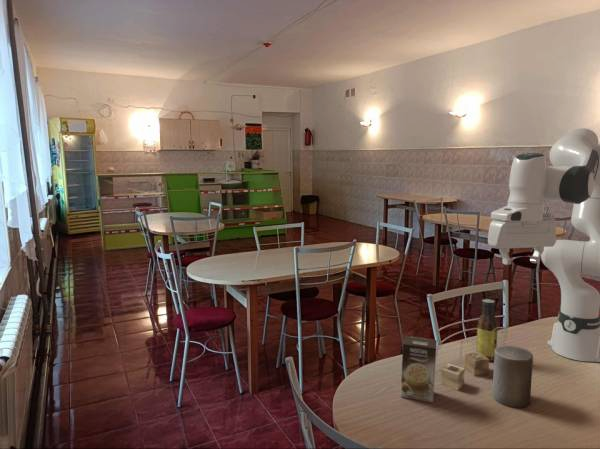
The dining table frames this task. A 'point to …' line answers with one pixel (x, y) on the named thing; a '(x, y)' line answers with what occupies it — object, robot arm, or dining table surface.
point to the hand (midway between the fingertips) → (520, 263)
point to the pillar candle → (512, 376)
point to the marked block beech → (452, 376)
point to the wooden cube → (476, 364)
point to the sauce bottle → (487, 330)
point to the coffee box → (418, 368)
